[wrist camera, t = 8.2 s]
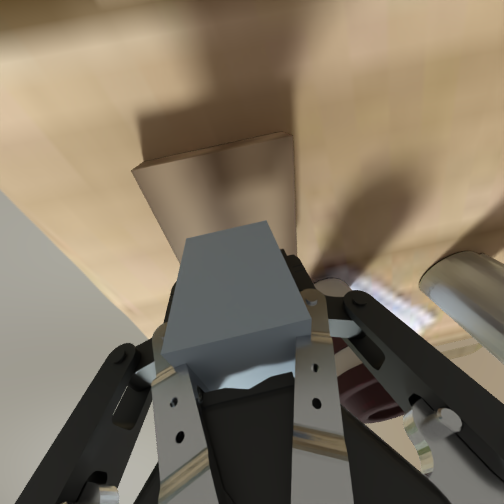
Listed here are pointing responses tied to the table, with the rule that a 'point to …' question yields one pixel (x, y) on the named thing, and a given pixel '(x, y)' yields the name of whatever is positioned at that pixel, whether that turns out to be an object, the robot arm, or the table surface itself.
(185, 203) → the base
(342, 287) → the coffee cup
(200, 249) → the block
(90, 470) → the robot arm
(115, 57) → the table surface
